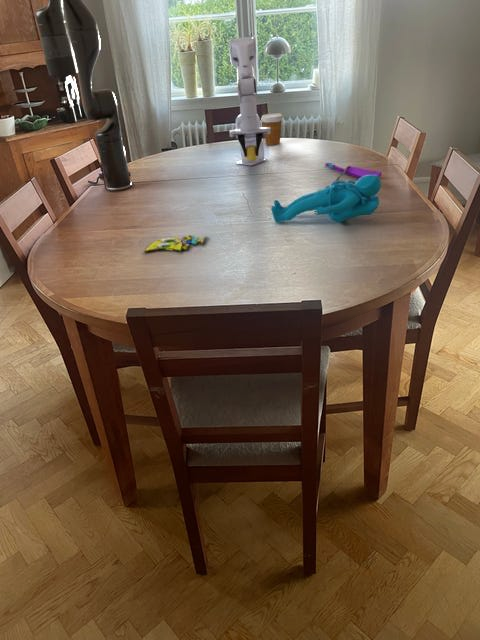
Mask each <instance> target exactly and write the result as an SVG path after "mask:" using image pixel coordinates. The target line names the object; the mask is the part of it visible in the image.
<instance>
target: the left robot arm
mask: <svg viewBox="0 0 480 640" xmlns="http://www.w3.org/2000/svg"><path fill="white" fill-rule="evenodd" d="M34 19H35V23H36V26H37V30H38V34H39V38H40V43H41V44H40V45H41V49H42V54H43V57H44V60H45V65H46V67H47V72H48V76H50V77H52V78H57V81H58V82H55V88H56V91H57V96H58V99H59V103H60V107H61V108H62V109H63V110H64V113H65V116H66V120H67V123H68V124H70V125H73V124H76V123H77V119H81V118H82V117H83V116H82V112H81V107H80V100H81V104H82V109H83V112H84V114H85V117H86V118H87V120H88V121H90V122H97V121H103V120H106V123H105V124H104V125H103V126H102V127H100V128H99V129H98V130H96V131H95V132H94V139H95V143H96V147H97V153H98V156H99V160H100V162H99V163H98V164H99V168H100V172H99V173H98V176H97V177H96V181H91V180H87V183H89V184H92V185H97V184H98V183H99V180H101V181H102V182H103V185H104V189H106V190H107V191H111V192H120V191H124V190H127V189H130V188H132V187H133V184H132V179H131V172H130V170H129V169H130V168H129V165H128V160H127V155H126V149H125V144H124V141H123V134H122V128H121V121H120V115H119V109H118V103H117V99H116V96H115V93H114V91H112V90H111V89H110V88H102V89H95V90H93V85H92V81H93V72H94V69H95V66H96V63H97V60H98V58H99V55H100V51H101V44H102V43H101V38H100V32H99V28H98V27H99V26H98V22H97V20H96V17H95V15H94V14H93V13H92V11H91V10H90V8H89V7H88V6H87V5H86V3H85V2H84V1H83V0H48V3H47V5H46V6H44V7H41V8H38V9H37V10H35V11H34ZM74 75H77V78H78V85H79V90H78V86H77V82H76V78H75V76H74ZM79 91H80V93H79ZM79 94H80V95H79ZM80 97H81V99H80Z"/></svg>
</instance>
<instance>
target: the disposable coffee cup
mask: <svg viewBox="0 0 480 640" xmlns="http://www.w3.org/2000/svg"><path fill="white" fill-rule="evenodd" d="M260 121H261V123H262V128H265V127H270V134H263V136H264V141H265V145H268V146H275V145H280V143H281V134H282V133H281V132H282V123H283V122H282V121H283V115H282V113H278V112H275V113H273V112H272V113H266V114H263V115H261V118H260Z"/></svg>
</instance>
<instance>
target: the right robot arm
mask: <svg viewBox="0 0 480 640" xmlns="http://www.w3.org/2000/svg"><path fill="white" fill-rule="evenodd" d="M228 48H229V49H228V50H229V59H230V63H231V66H233V67H234V68H236V72H237V73H236V75H237V81H236V84H237V86H236V89H237V96H238V102H239V113H240V114H239V115H238V116H237V117H236V118H235V123H234V125H235V129H231V130H229V132H228V133H229V138H233V137H236V140H237V141H238V143H239V147H240V159H241V160H239V161H236V164H239V165H244V166H251V167H253V166H254V165H257V164H261V163H262V162H265V161H266V160H267V158H265V143H264V141H263V137H264V134H270V127H265V128H263V127H262V125H261V123H262V122H261V118H260V116H259V114H258V110H257V108H258V107H257V95H258V83H257V79H256V76H255V71H254V66H253V65H254V64H256V60H257V41H256V37H255V35H253V36H248V37H236V38H229V39H228ZM249 145H255V146H256V156H257V160H255V161H247V157H246V146H249Z"/></svg>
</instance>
